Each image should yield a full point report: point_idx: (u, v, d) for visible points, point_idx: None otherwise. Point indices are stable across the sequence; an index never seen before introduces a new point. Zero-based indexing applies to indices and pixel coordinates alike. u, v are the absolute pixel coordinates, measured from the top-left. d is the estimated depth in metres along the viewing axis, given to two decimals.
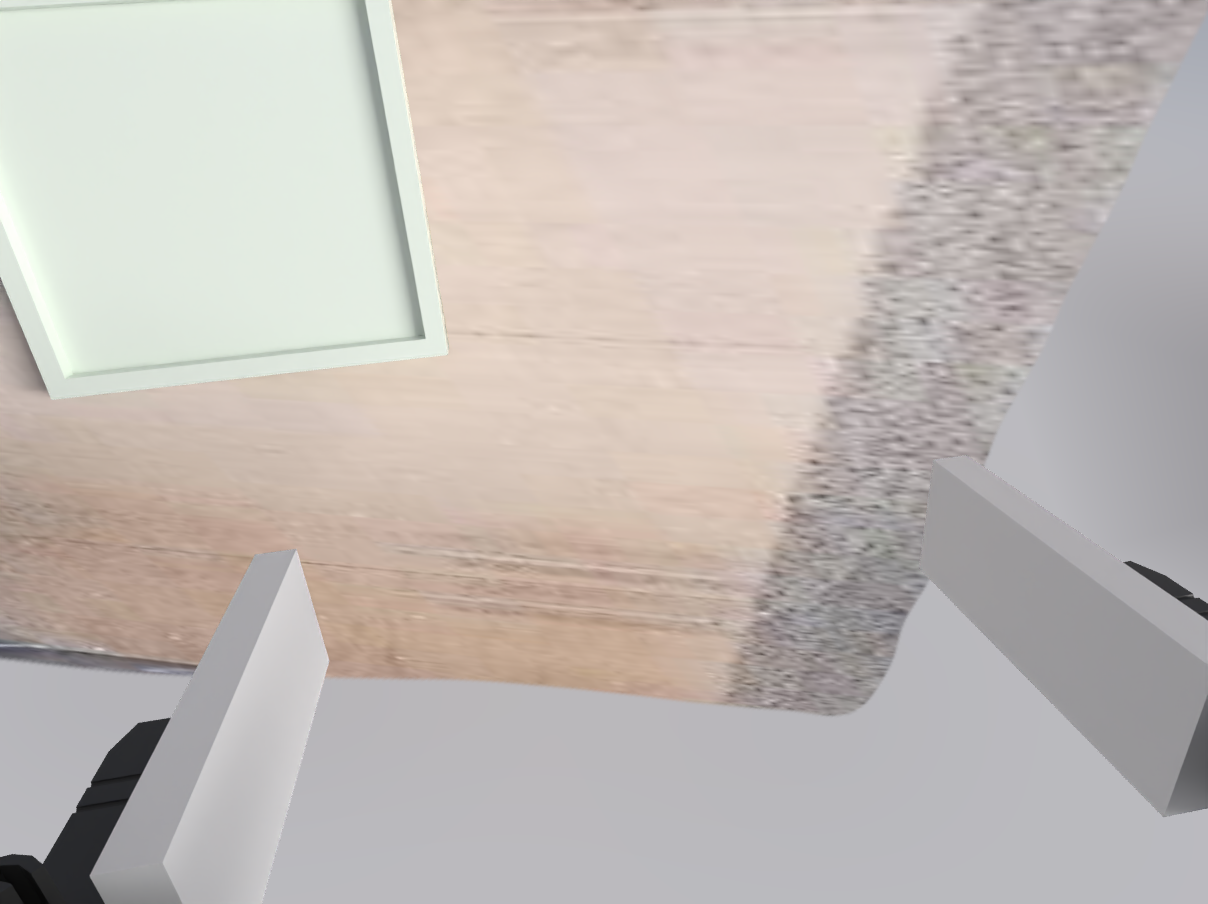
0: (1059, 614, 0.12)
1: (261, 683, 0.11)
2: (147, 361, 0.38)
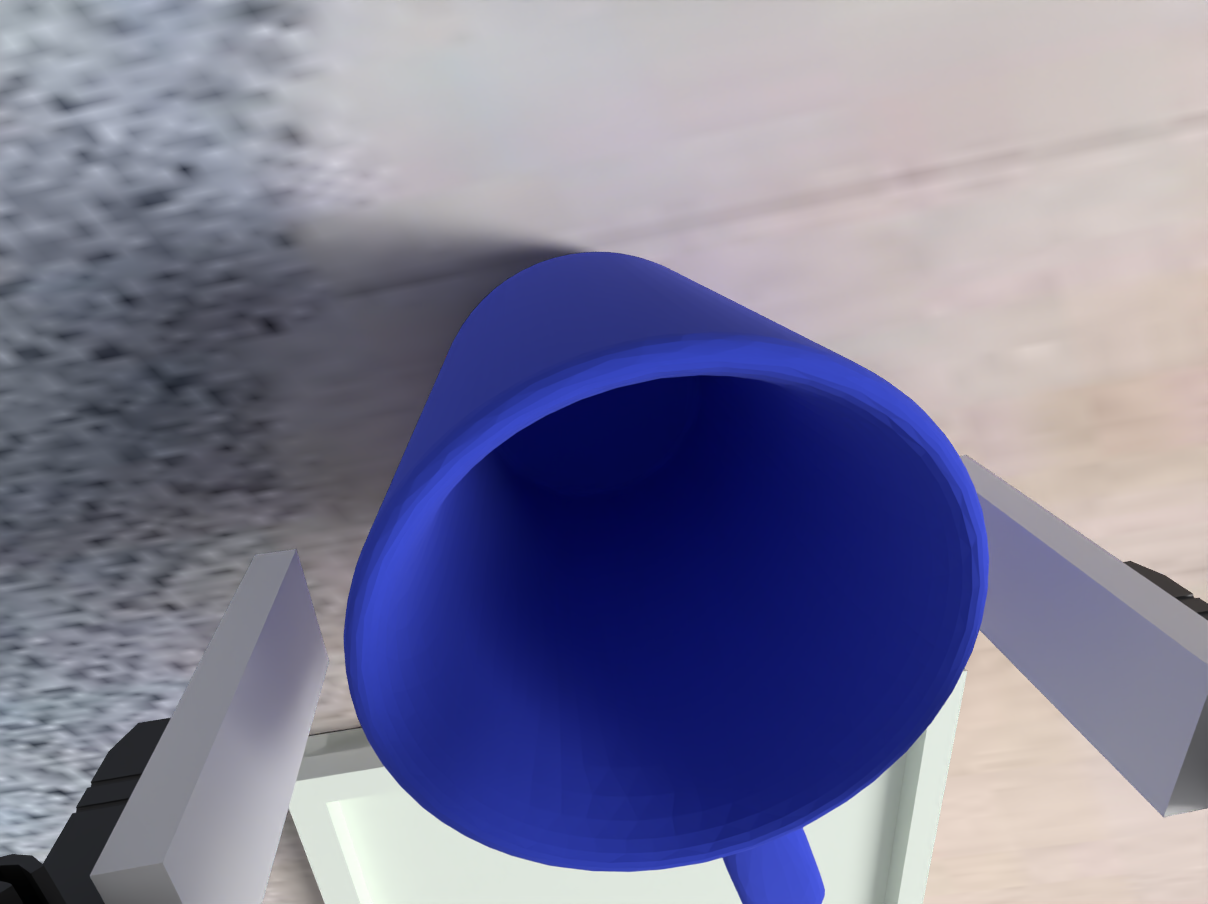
0: (1059, 614, 0.12)
1: (261, 683, 0.11)
2: None
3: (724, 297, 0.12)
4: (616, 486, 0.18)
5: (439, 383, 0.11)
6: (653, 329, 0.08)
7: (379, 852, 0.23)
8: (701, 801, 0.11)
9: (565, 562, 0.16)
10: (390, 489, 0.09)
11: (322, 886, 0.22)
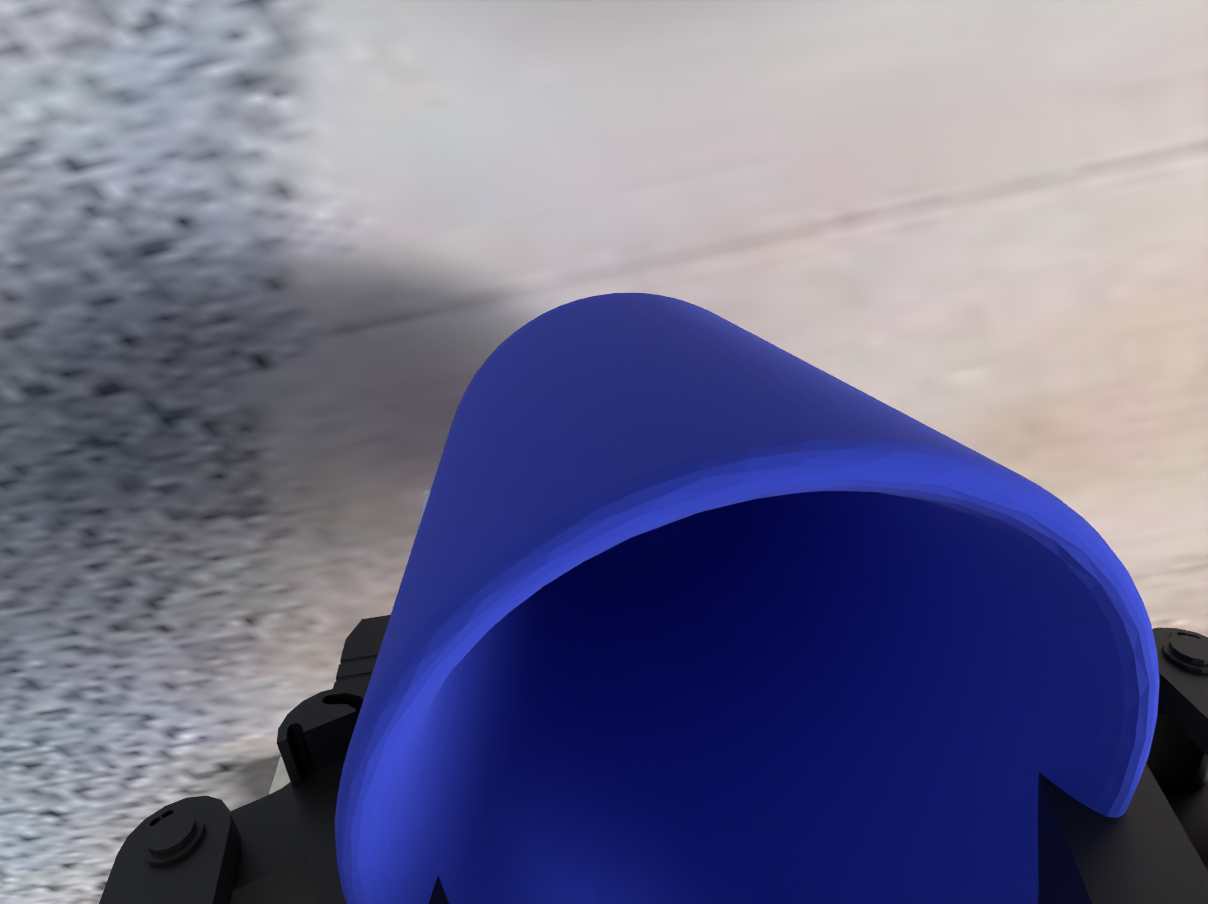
0: None
1: None
2: None
3: (798, 359, 0.10)
4: (643, 550, 0.16)
5: (455, 461, 0.09)
6: (753, 429, 0.06)
7: None
8: None
9: (590, 646, 0.14)
10: (398, 628, 0.06)
11: None
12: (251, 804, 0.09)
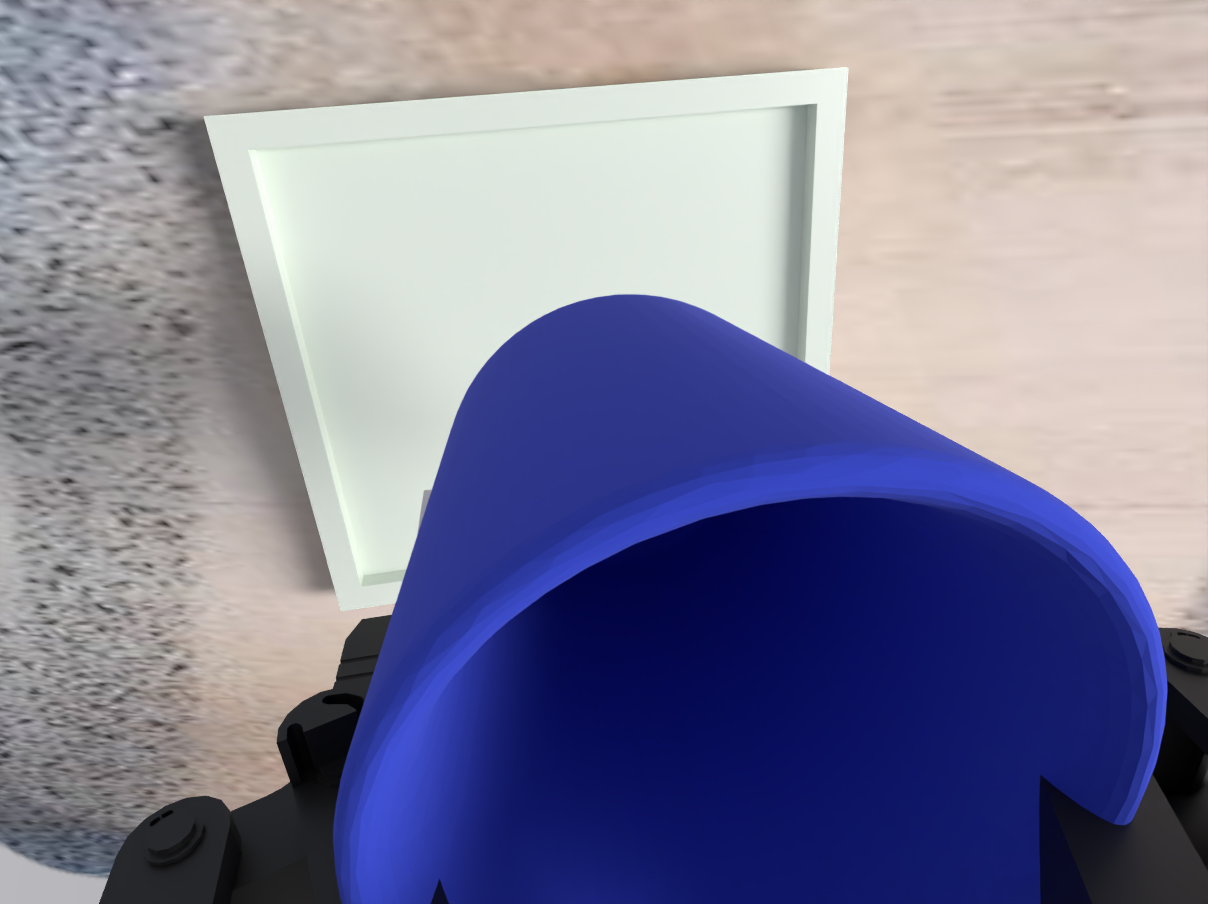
0: None
1: None
2: None
3: (802, 362, 0.10)
4: (644, 552, 0.16)
5: (455, 464, 0.09)
6: (759, 434, 0.06)
7: (305, 257, 0.24)
8: None
9: (591, 650, 0.14)
10: (398, 634, 0.06)
11: (249, 266, 0.23)
12: (251, 804, 0.09)
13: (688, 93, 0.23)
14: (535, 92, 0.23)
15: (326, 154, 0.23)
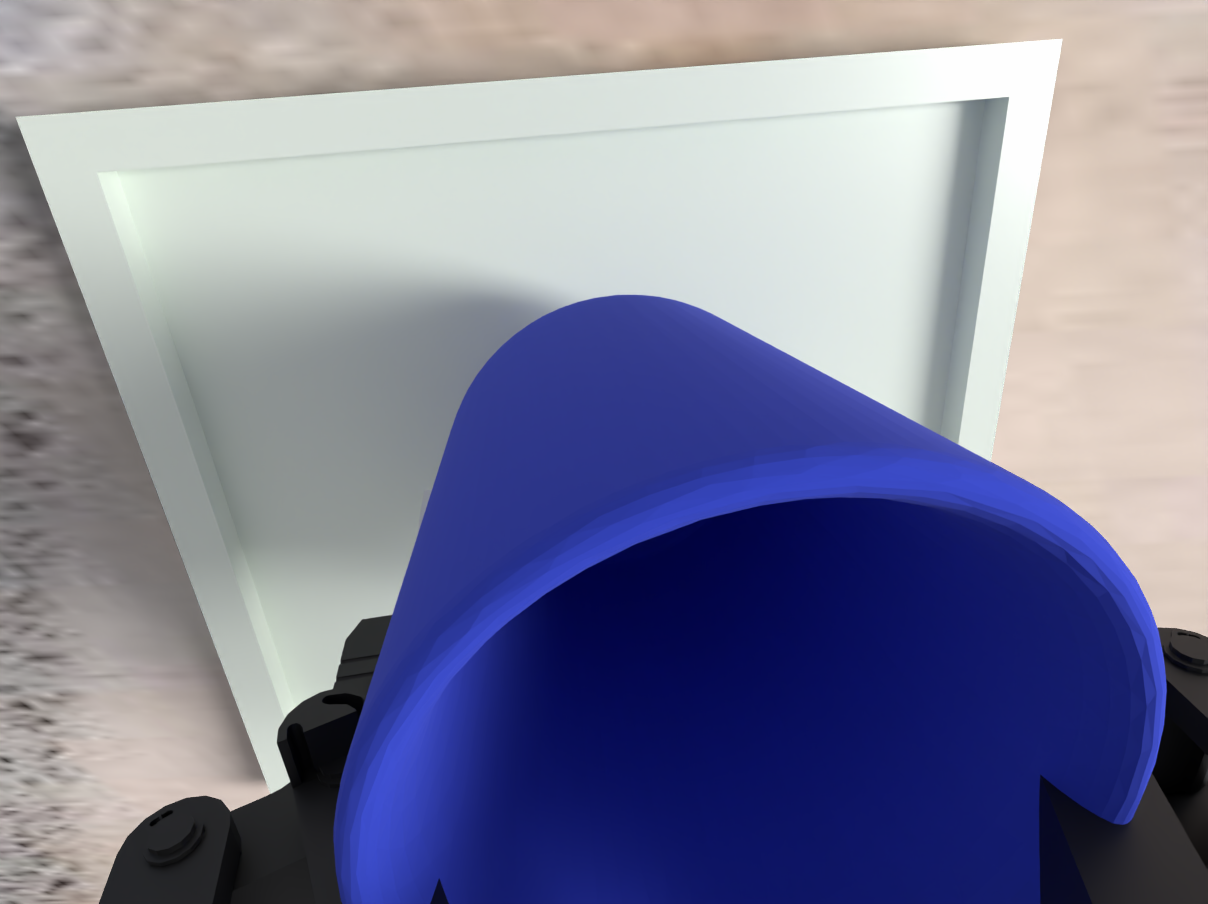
0: None
1: None
2: None
3: (802, 362, 0.10)
4: (643, 553, 0.16)
5: (456, 464, 0.09)
6: (759, 435, 0.06)
7: (207, 336, 0.16)
8: None
9: (591, 650, 0.14)
10: (399, 634, 0.06)
11: (112, 356, 0.15)
12: (251, 804, 0.09)
13: (812, 80, 0.15)
14: (570, 78, 0.14)
15: (233, 178, 0.14)
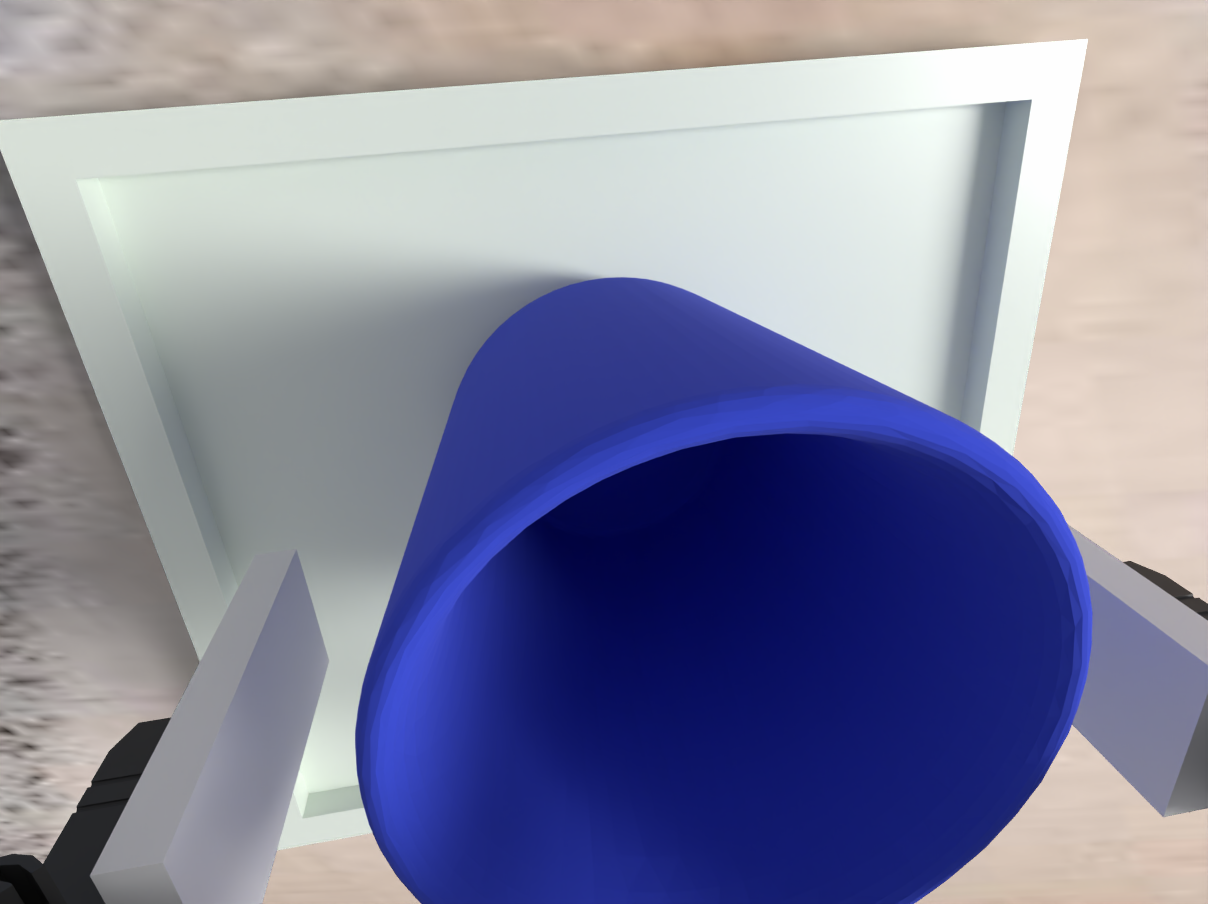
0: None
1: (262, 683, 0.11)
2: None
3: (775, 332, 0.10)
4: (635, 525, 0.17)
5: (459, 426, 0.10)
6: (725, 380, 0.07)
7: (194, 349, 0.15)
8: (750, 897, 0.10)
9: (585, 611, 0.15)
10: (412, 561, 0.07)
11: (93, 371, 0.14)
12: None
13: (827, 82, 0.14)
14: (573, 79, 0.13)
15: (221, 184, 0.14)
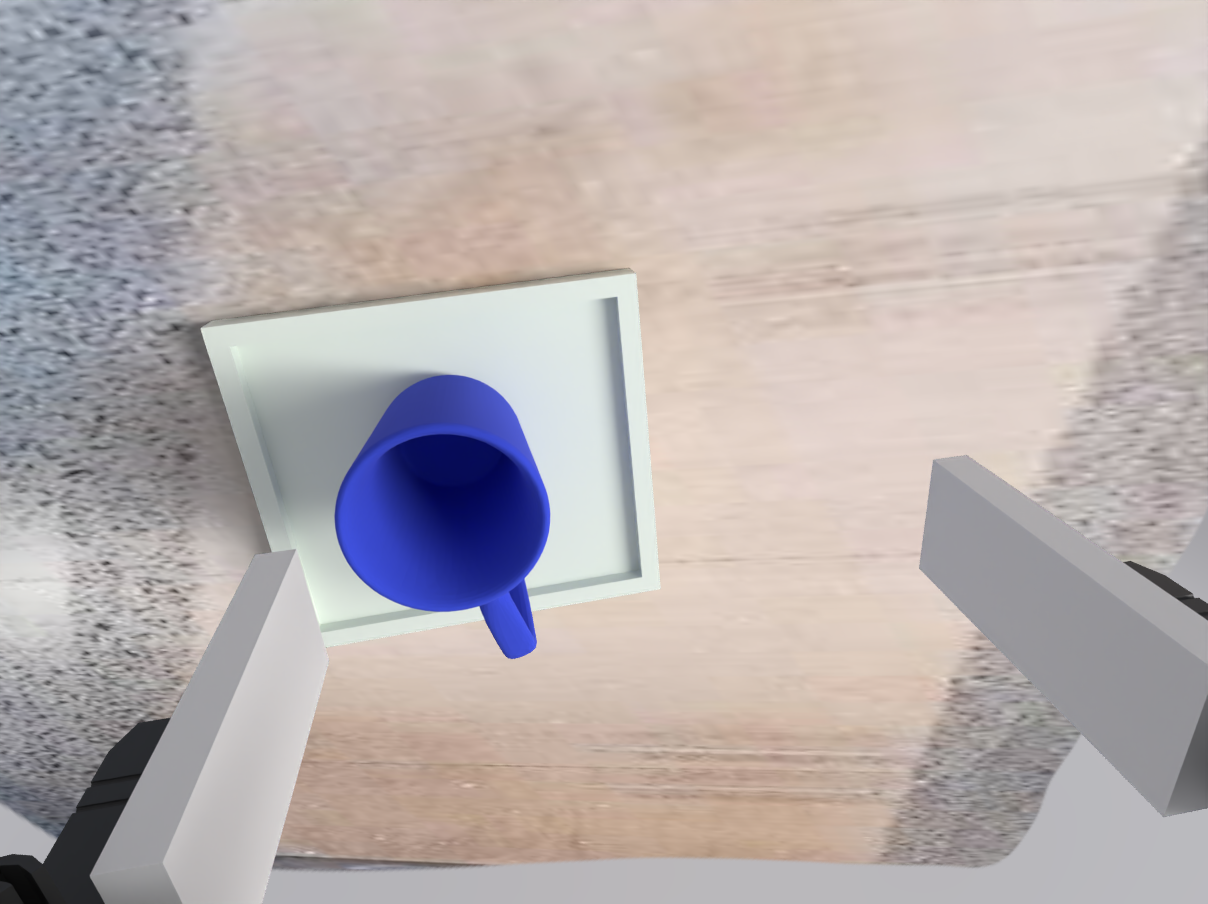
0: (1059, 614, 0.12)
1: (261, 683, 0.11)
2: (388, 609, 0.41)
3: (476, 402, 0.31)
4: (468, 482, 0.38)
5: None
6: (424, 421, 0.27)
7: (270, 408, 0.36)
8: (468, 589, 0.30)
9: (435, 514, 0.35)
10: None
11: (231, 419, 0.35)
12: None
13: (526, 295, 0.35)
14: (421, 301, 0.34)
15: (283, 343, 0.34)
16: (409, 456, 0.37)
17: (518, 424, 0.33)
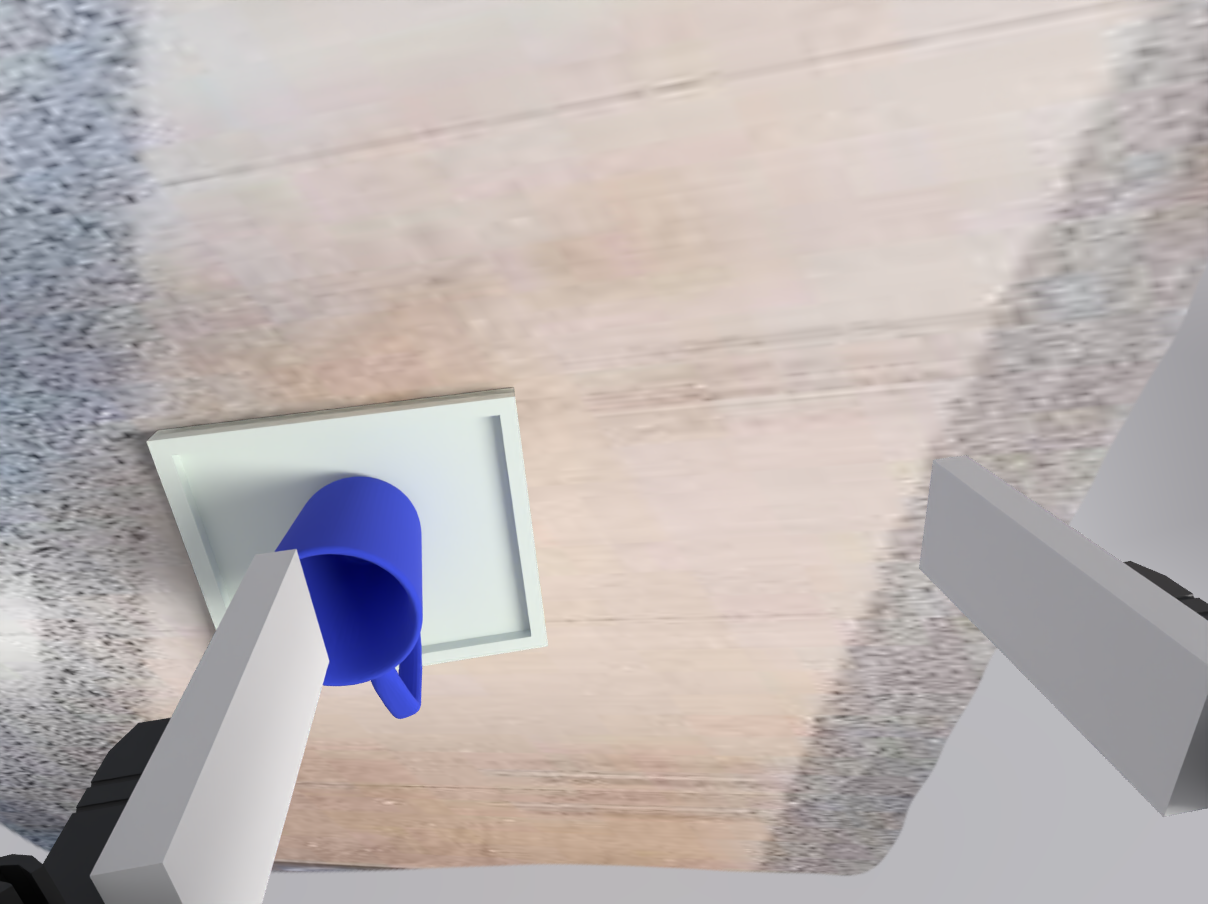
0: (1059, 614, 0.12)
1: (261, 683, 0.11)
2: None
3: (369, 514, 0.38)
4: None
5: (281, 541, 0.38)
6: (316, 543, 0.34)
7: (208, 501, 0.42)
8: (358, 667, 0.38)
9: (343, 593, 0.42)
10: None
11: (174, 511, 0.42)
12: None
13: (421, 414, 0.41)
14: (332, 419, 0.41)
15: (217, 450, 0.41)
16: None
17: (410, 525, 0.40)
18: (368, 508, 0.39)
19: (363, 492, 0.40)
